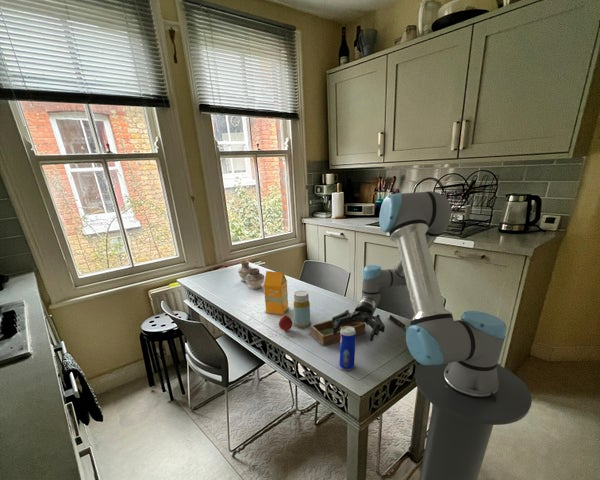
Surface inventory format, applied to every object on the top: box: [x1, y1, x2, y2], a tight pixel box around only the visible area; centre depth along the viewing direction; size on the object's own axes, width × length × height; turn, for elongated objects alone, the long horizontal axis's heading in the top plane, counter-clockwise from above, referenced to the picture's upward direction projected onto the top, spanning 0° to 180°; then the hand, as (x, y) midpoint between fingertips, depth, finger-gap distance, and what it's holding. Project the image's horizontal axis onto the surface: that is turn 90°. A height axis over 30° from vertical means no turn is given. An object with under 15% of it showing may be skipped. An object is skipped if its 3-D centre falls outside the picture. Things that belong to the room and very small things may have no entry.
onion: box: [278, 313, 294, 332], centre depth 135 cm, size 6×6×8 cm
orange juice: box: [263, 270, 289, 316], centre depth 151 cm, size 8×9×20 cm
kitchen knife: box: [389, 314, 409, 331], centre depth 135 cm, size 18×1×2 cm, turn 21°
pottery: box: [237, 259, 265, 290], centre depth 188 cm, size 11×25×12 cm, turn 30°
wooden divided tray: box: [310, 319, 367, 347], centre depth 132 cm, size 11×20×4 cm, turn 117°
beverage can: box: [339, 326, 357, 371], centre depth 109 cm, size 5×5×15 cm
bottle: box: [293, 290, 311, 328], centre depth 138 cm, size 7×7×15 cm
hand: (352, 334), depth 114 cm, fingers open, 13 cm apart
